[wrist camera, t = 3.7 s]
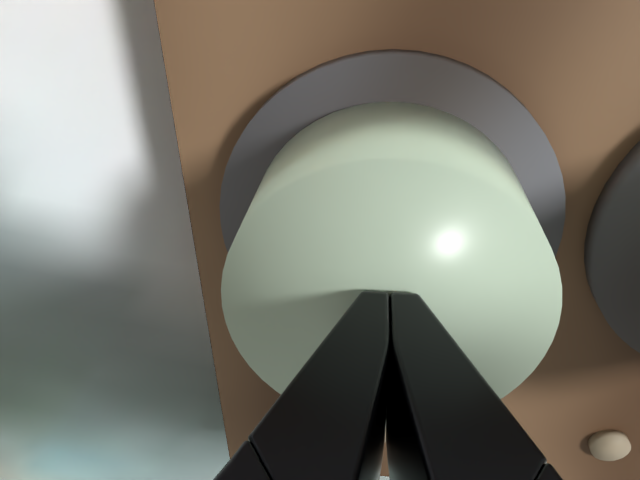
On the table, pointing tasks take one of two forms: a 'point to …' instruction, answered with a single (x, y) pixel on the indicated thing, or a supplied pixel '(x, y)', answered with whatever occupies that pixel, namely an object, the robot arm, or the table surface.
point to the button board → (469, 105)
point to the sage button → (392, 242)
